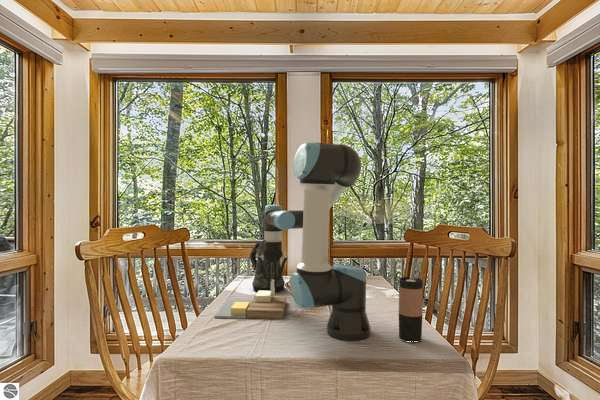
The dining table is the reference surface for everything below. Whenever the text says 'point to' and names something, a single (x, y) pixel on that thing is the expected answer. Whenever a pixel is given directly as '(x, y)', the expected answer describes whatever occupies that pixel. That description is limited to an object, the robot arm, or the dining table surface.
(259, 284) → the beer stein
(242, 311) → the mustard tile
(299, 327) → the dining table surface
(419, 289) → the travel mug
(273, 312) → the walnut deck
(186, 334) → the dining table surface
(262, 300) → the ivory tile
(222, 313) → the slate mat
